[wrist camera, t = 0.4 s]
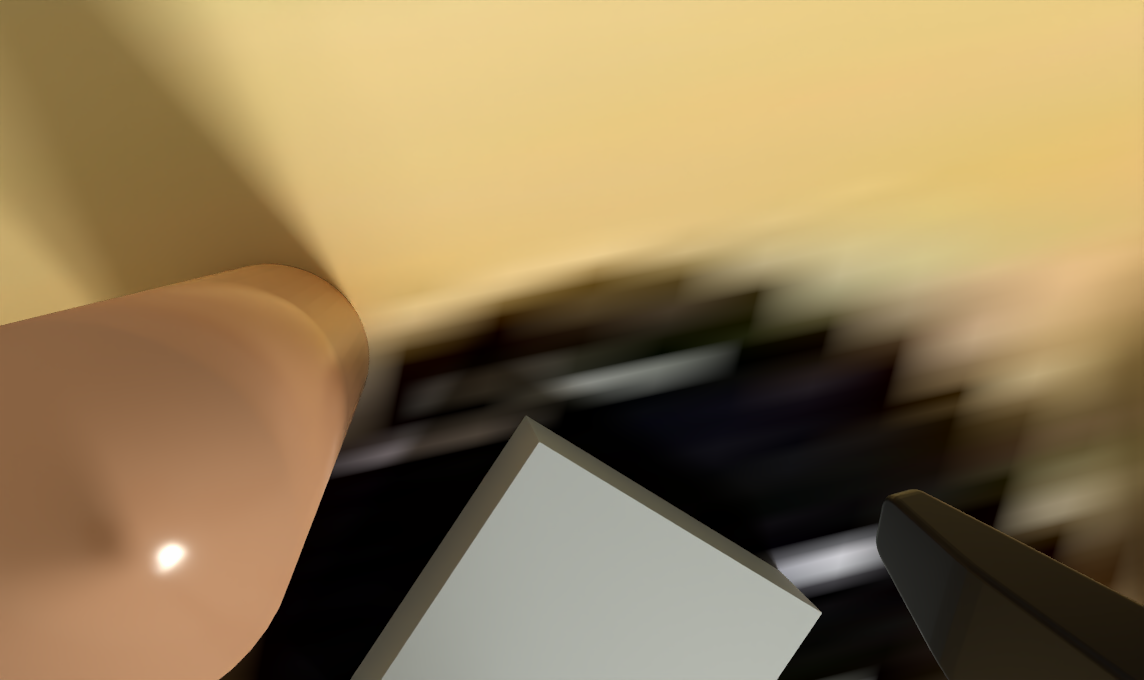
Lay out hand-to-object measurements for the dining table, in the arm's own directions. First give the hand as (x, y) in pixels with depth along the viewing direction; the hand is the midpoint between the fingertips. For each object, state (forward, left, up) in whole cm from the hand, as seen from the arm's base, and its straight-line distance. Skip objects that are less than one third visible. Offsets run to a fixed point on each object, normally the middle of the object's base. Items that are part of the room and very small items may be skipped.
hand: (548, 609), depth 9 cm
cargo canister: (-3, +5, -15) cm, 16 cm away
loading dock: (-6, -8, -15) cm, 18 cm away
